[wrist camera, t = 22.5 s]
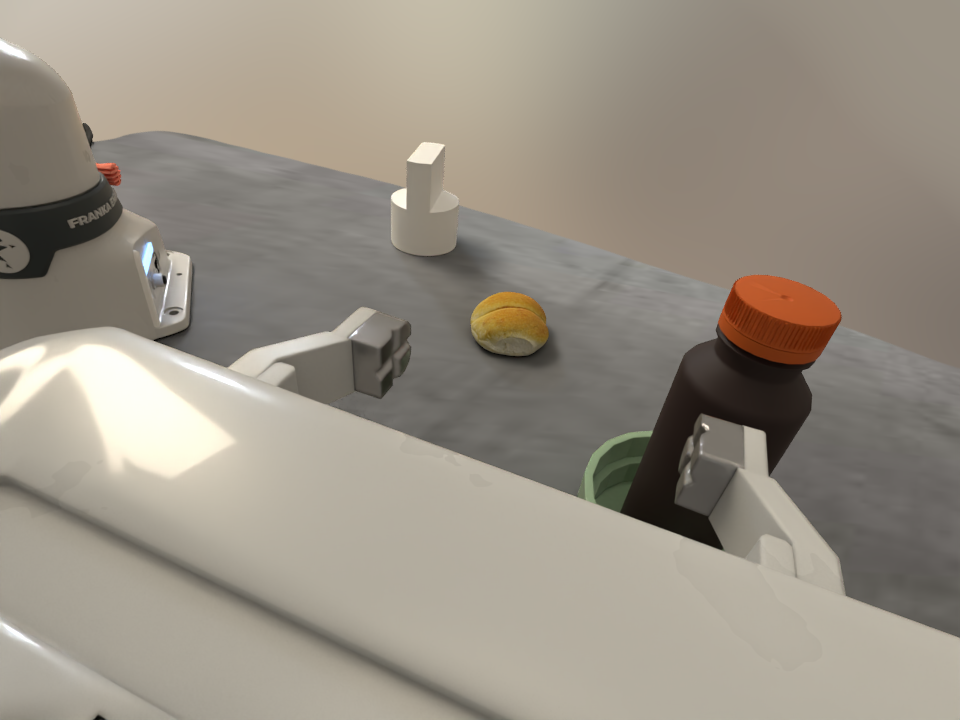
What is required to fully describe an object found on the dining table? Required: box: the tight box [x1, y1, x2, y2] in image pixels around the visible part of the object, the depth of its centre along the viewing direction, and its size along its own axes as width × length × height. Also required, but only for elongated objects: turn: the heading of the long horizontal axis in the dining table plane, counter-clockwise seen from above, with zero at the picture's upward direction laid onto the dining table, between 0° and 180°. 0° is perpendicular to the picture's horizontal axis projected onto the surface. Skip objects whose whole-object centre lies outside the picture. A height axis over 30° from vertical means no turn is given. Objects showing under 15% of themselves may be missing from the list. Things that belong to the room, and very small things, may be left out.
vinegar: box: [620, 275, 841, 550], centre depth 32 cm, size 7×7×20 cm
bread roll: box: [470, 292, 549, 356], centre depth 57 cm, size 8×9×4 cm
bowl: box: [577, 431, 725, 552], centre depth 37 cm, size 13×13×5 cm
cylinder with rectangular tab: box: [391, 142, 459, 256], centre depth 70 cm, size 9×9×12 cm
